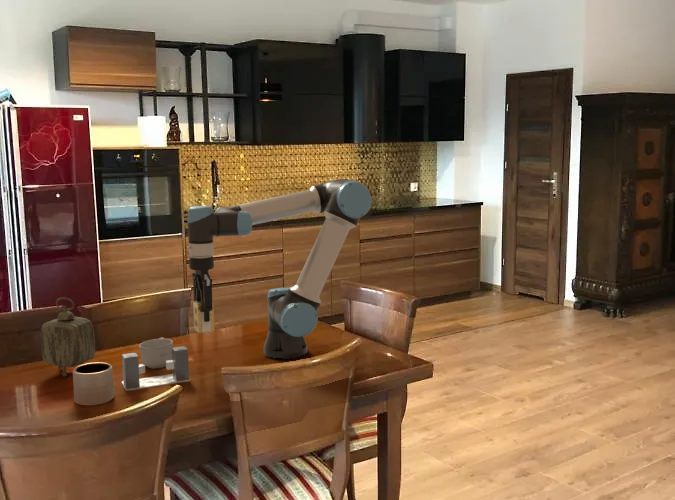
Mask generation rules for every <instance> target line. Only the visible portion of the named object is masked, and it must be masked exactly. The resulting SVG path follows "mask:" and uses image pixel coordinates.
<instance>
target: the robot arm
mask: <svg viewBox="0 0 675 500" xmlns="http://www.w3.org/2000/svg"><path fill="white" fill-rule="evenodd" d="M372 201H373V200H372V194H371V192H370V190H369V189H368V186H366V185H365V184H363V183H361V182H360V181H358V180H353V179H346V178H345V179H344V178H337V179H333V180H330V181H327V182H324V183H321V184H320V183H319V184H317V185H312V186H311V187H310V188H309V189H306V190H302V191H298V192H293V193H287V194H283V195H278V196H275V197H269V198H265V199H260V200H255V201H251V202H250V201H249V202H247V203H246V202H245V203H242V204H237V205H232V206H221V207H218V208H217V209H216V210H215V211H213V207H212V206H210V205H193V206H190V207H189V208H188V210H187V221H186V223H187V234H188V235H187V236H188V237H187V238H188V246H187V247H186V248H187V250H188V254H189V258H188V262H189V263H188V264H189V266H188V267H189V269H190V270H191V271H195V272H192V275H191V276H192V284H193V285H192V286H193V290H192V291H193V301H201V303H202V310H200V312H201V323H202V332H203V333H208V331H211V317H210V311H211V310H213V306H212V302H213V279H212V278H211V275H210V274H209V270H213V269H214V268H215V260H214V259H215V258H214V256H213V255H215V252H214V251H215V248H214V247H215V246H214V237H231V236H233V237H235V236H236V237H237V236H239V237H242V236H249V235H250V234H251V233H252V229H253V226H254V225H258V224H259V225H260V224H264V223H269V222H271V221H272V222H273V221H277V220H281V219H282V220H283V219H285V218H290V217H294V216H295V217H296V216H299V215H304V214H310V213H316V214H322V213H324V216H325V219H324V222H323V225H322V226H321V228H320V231H319V233H318V235H317V237H316V240H315V242H314V243H313V247H312V248H311V251H310V252H309V255H308V257H307V259H306V261H305V264H304V265H303V268H302V269H301V272H300V274H299V276H298V279H297V281H296V283H295V285H293V286H290V287H277V288H271V289H269V290H268V292H267V297H266V299H267V323H268V324H267V325H268V326H267V327H268V329H267V330H268V332H267V335H266V339H265V340H264V341H265V342H264V345H263V355H264V356H265V355H266V356H265V357H267V356H268V357H267V358H270V357H273V358H272V359H275V358H282V359H281V360H289V359H290V358H292V359H298V358H301V357H300V356H302V357H304V356H306V355H307V354H308V345H307V342H306V338H305V336H308V335H309V334H311V333H312V332H313V331H314V329H315V328H316V326H317V324H318V316H319V315H318V311H319V309H320V306H321V304H322V300H321V298H320V295H321V293H322V291H323V289H324V287H325V284H326V282H327V280H328V278H329V275H330V273H331V272H332V269H333V267H334V266H335V265H334V264H335V263H336V261H337V258H338V256H339V254H340V251H341V249H342V247H343V245H344V243H345V240H346V239H347V236H348V234H349V233H350V230H352V229H355V228H357V226H358V223H359V222H360V219H361V218H362V217H364V216H365V215H366V214H368V212H369V211H370V210H371V209H370V208H371V206H372ZM211 332H212V331H211ZM306 353H307V354H306ZM305 354H306V355H305ZM303 355H304V356H303ZM297 357H298V358H297ZM290 360H291V359H290Z"/></svg>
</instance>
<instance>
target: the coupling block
mask: <svg viewBox="0 0 675 500" xmlns="http://www.w3.org/2000/svg"><path fill="white" fill-rule="evenodd" d="M192 302H193V305H192V307H193V327H194V328H193V330H195V332H197V333H198V334H201V333H204V332H202V323H201V312H200V310H202V303H201V301H194V300H193V301H192ZM212 306H213V310H211V311H210V317H211V331H208V332H209V333H210V332H211V333H212V332H215V313H214V310H215V308H214V302H213V301H212ZM208 332H207V333H208Z"/></svg>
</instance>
